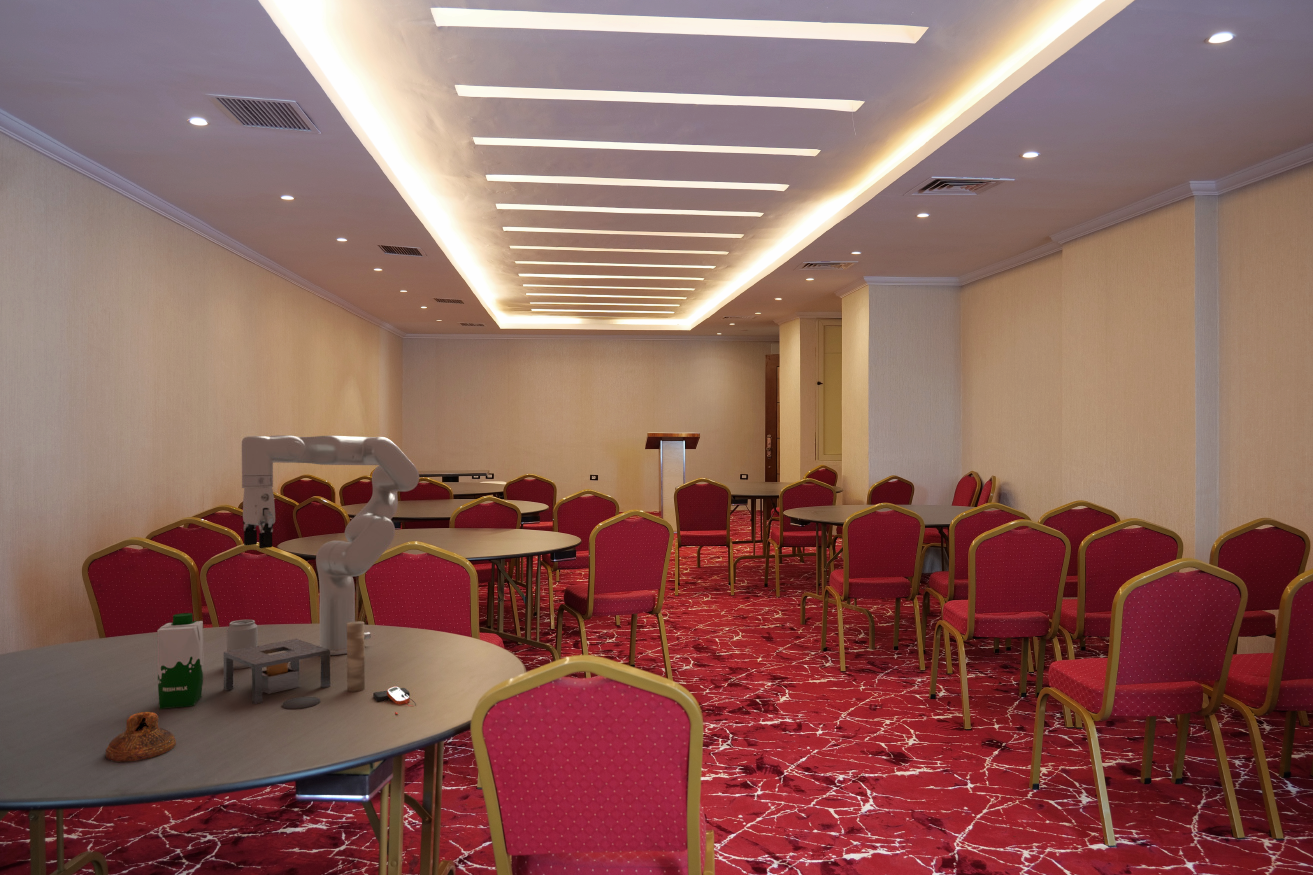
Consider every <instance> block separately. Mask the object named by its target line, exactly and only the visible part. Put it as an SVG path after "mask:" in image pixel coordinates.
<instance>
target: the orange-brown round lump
mask: <svg viewBox="0 0 1313 875" xmlns="http://www.w3.org/2000/svg"><path fill="white" fill-rule="evenodd" d="M288 663H289V662H287V663H282V664H277V665H272V666H267V667H265V670H266V675H269V676H273V675H278V674H282V673H287V672H288V667H289V664H288Z"/></svg>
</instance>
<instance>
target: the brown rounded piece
mask: <svg viewBox="0 0 1313 875" xmlns="http://www.w3.org/2000/svg"><path fill="white" fill-rule="evenodd" d="M169 741H170V742H169ZM176 744H177V740H176V737H175V735H174V733H172V732H171V731H170V730H168V729H166V728H162V727H160V726H159V716H158V714H157V713H155V712H152V711H143V712H137V713H134V714H131V715H130V716H129V717H128V718H127V720H126V726H125V731H123V732H120V734H117V736H115V737H114V738H113V739H112V740H111V741H110V742H109V744H108V746H107V747H106V749H105V756H106V759H107V760H109V761H111V760H112V761H113V762H118V763H124V762H125V761H126V762H136V761H137V762H138V761H142V760H147V759H151V758H155V757H159V756H160V755H163V754H166V753H167V751H168V752H169V751H171V750H172V749H173V748H175V747H176ZM165 752H166V753H165Z"/></svg>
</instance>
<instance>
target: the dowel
mask: <svg viewBox="0 0 1313 875" xmlns="http://www.w3.org/2000/svg"><path fill="white" fill-rule="evenodd" d="M364 633H365V622H364V621H362V620H361V621H357V620H355V622H349V623H347V653H346V679H347V680H346V689H347V692H360V691H364V690H365V688H366V686H365V682H366V680H365V678H366V677H365V672H366V670H365V669H366V668H365V666H366V665H365V663H366V662H365V640H364Z"/></svg>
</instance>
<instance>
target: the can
mask: <svg viewBox="0 0 1313 875" xmlns="http://www.w3.org/2000/svg"><path fill="white" fill-rule="evenodd" d="M228 625H229V626H228V627H227V628H226V652H227V651H232V650H238V649H243V648H249V647H254V646H259V645H258V644H259V643H258V635H259V634H258V630H259V628H258V625H257V624H256V621H255V620H254V619H239V620H233V621H231V622H229V624H228ZM247 668H250V667H249V666H247V665H244V664H242V663H239V662H237V661H234V660H233V670H234V669H236V670H238V669H239V670H241V669H247Z"/></svg>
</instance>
